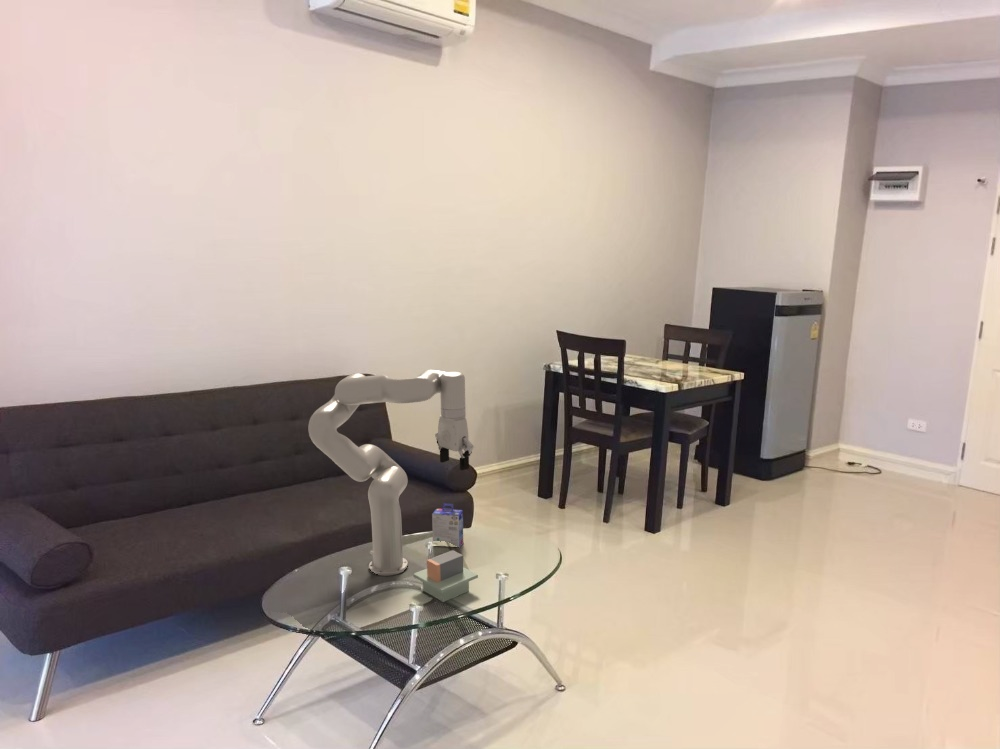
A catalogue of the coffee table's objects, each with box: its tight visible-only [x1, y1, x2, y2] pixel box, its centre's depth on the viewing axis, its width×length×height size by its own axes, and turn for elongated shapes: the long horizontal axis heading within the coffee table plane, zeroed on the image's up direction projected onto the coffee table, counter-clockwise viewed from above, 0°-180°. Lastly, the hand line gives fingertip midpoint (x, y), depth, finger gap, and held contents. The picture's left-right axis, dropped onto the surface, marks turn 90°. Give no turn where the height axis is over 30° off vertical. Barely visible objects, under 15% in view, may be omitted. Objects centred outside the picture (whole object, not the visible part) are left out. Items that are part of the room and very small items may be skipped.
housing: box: [426, 549, 464, 582], centre depth 245 cm, size 10×5×6 cm, turn 132°
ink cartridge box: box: [431, 502, 464, 549], centre depth 277 cm, size 10×6×14 cm, turn 78°
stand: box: [413, 566, 479, 603], centre depth 246 cm, size 14×14×6 cm
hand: (454, 465), depth 250 cm, fingers open, 9 cm apart
